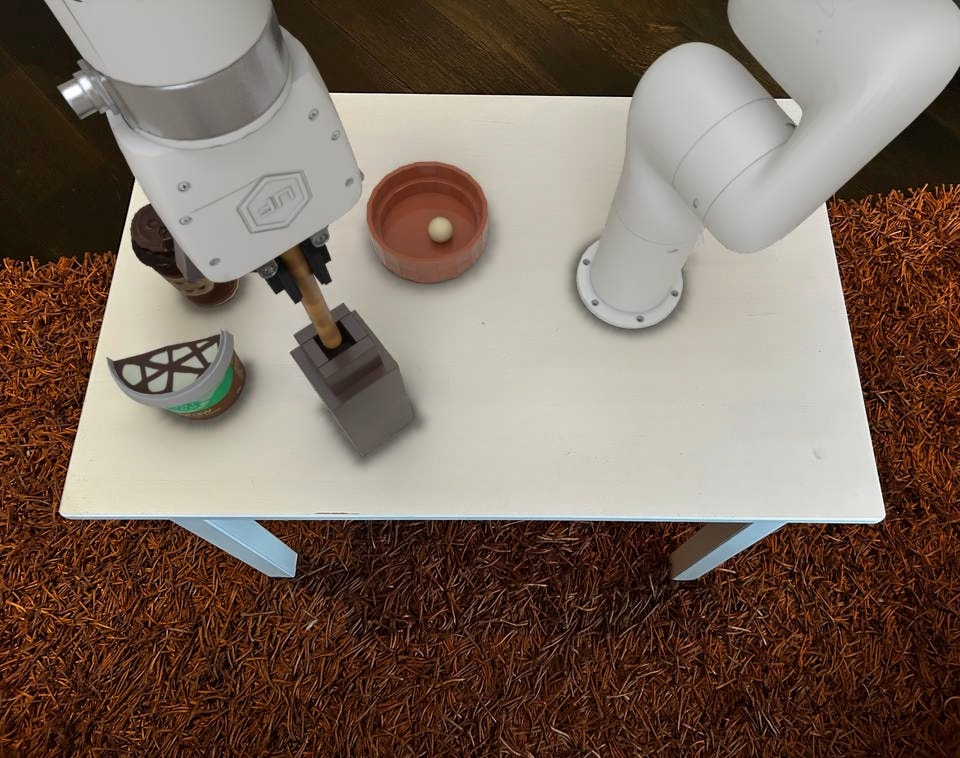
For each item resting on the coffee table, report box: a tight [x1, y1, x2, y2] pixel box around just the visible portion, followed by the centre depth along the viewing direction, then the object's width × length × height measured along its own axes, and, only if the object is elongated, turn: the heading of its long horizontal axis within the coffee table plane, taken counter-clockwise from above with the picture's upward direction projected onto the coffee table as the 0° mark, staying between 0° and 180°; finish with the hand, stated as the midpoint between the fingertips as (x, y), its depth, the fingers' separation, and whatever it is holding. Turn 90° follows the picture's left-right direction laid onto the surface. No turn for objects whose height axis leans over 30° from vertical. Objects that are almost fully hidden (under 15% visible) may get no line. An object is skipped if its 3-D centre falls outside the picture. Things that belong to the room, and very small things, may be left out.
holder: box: [289, 302, 415, 458], centre depth 63 cm, size 7×7×20 cm
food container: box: [105, 327, 246, 421], centre depth 68 cm, size 12×6×10 cm, turn 106°
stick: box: [279, 244, 342, 348], centre depth 46 cm, size 2×2×16 cm
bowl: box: [365, 160, 489, 283], centre depth 78 cm, size 14×14×5 cm
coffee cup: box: [129, 202, 240, 308], centre depth 72 cm, size 9×8×13 cm
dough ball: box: [428, 217, 453, 243], centre depth 79 cm, size 3×3×3 cm
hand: (302, 277), depth 44 cm, fingers closed on stick, 1 cm apart
